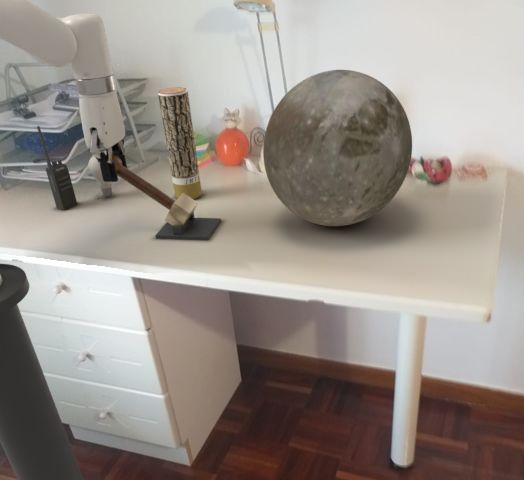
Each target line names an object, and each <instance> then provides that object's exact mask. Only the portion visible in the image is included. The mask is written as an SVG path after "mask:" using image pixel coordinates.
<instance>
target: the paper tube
mask: <svg viewBox="0 0 524 480" xmlns="http://www.w3.org/2000/svg"><path fill="white" fill-rule="evenodd" d="M157 97H158V103H159V108H160V116H161V121H162V126H163V132H164V138H165V144H166V150H167V155H168V161H169V162H168V163H169V167H170V173H171V180H172V185H173V190H174V191H173V192H174V196H175V198H176V200H177V199H178V198H179V197H180V195H181V194H182V193H185V194H186V195H187V196H189V197H190V198H192V199H193V200H195V199H199V198H200V197H201V196H202V193H203V191H202V184H201V176H200V169H199V163H198V153H197V148H196V139H195V134H194V126H193V118H192V112H191V111H192V110H191V106H190V98H189V90H188V87H184V86H175V87H166V88H163V89H159V90H157Z"/></svg>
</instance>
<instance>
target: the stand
mask: <svg viewBox="0 0 524 480" xmlns="http://www.w3.org/2000/svg"><path fill="white" fill-rule="evenodd" d="M221 222H222V218H221V217H195V211H194V212H193V213H192V215H191V217H190V219H189V220H188V221H187V223H186V224H185V225H184V226H182V225H174V226H172V225H171V224H169V223H168V222H166V223H164V225H163V226H162V227H161V228H160V229H159V230H158V232H156V234H155V239H159V240H160V239H161V240H187V241H188V240H190V241H208V240H209V239H210V237H212V235H213V233H214V232H215V231H216V229H217V228H218V226H219V225H220V224H221Z"/></svg>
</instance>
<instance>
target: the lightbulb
mask: <svg viewBox="0 0 524 480" xmlns="http://www.w3.org/2000/svg"><path fill="white" fill-rule="evenodd" d="M88 171H89V172H90V174H91V175H92V177H93V178H94V179H95V181H96V182H97V184H98V186H99V188H100V191H101V194H102V196H103V197H106V198H110V197H111V196H112V195H113V188H112V186H113V182H104V181H103V177H102V173H101V168H100V164H99V163H98V161H97V159H96V158H95V157H94V156H93V155H91V157H90V159H89V161H88Z"/></svg>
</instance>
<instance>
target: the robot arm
mask: <svg viewBox="0 0 524 480" xmlns="http://www.w3.org/2000/svg"><path fill="white" fill-rule="evenodd" d="M105 29H106V28H105V25H104V21H103V19H102V17H101V16H100V15H99V14H96V13H89V12H88V13H87V12H86V13H78V14H70V15H67V16H66V17H56V16H55V15H53V14H52V13H50V12H48V11H46V10H45V9H43V8H41V7H39V6H38V5H36V4H34V3H33V2H31V1H30V0H0V40H2V41H5V42H7V43H8V44H10V45H12V46H14V47H16V48H18V49H20V50H22V51H24V53H25V54H26V56H28V58H30V59H32V60H34V61H36V62H38V63H41V64H44V65H48V66H51V67H54V68H61V67H66V66H68V65H69V64H71V68H72V72H73V76H74V81H75V85H76V86H75V87H76V90H77V94H78V97H79V98H78V103H79V105H78V106H79V114H80V120H81V128H82V132H83V133H82V134H83V136H84V142H85V146H86V148H87V149H89V150H90V155H91V156H94V157H95V158H96V159H97V161H98V163H99V164H100V168H101V173H102V177H103V181H104V182H111V183H116V182H118V181H119V176H118V175H117V173H116V168H115V163H114V162H112V155H111V154H114V155H117V156H118V157H119V158H120V159H121V161H122V165H123V166H124V167H126V168H127V169H128V165H127V160H126V156H125V154H126V150H125V147H124V145H125V141H124V140H125V137H126V129H125V122H124V117H123V113H122V110H121V109H122V108H121V104H120V102H119V99H118V94H117V93H118V90H117V84H116V79H115V74H114V70H113V65H112V60H111V55H110V49H109V45H108V39H107V34H106V30H105ZM101 145H103V146H101ZM102 151H105V152H102ZM106 155H107V156H106ZM1 284H2V277H1V275H0V286H1Z"/></svg>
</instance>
